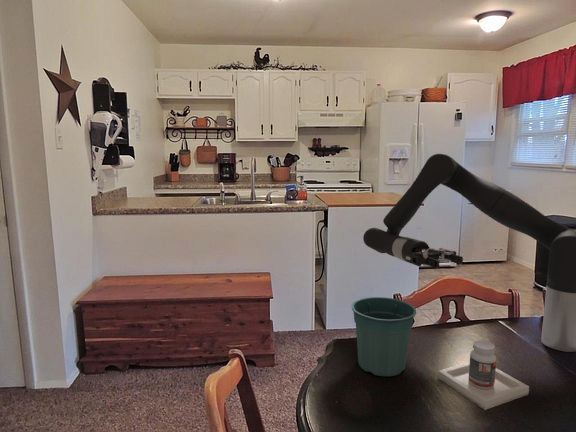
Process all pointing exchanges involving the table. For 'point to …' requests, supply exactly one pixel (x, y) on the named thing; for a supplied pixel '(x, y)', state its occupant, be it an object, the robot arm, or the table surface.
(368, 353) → the flower pot
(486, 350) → the pill bottle
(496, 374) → the tray
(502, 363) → the table surface
